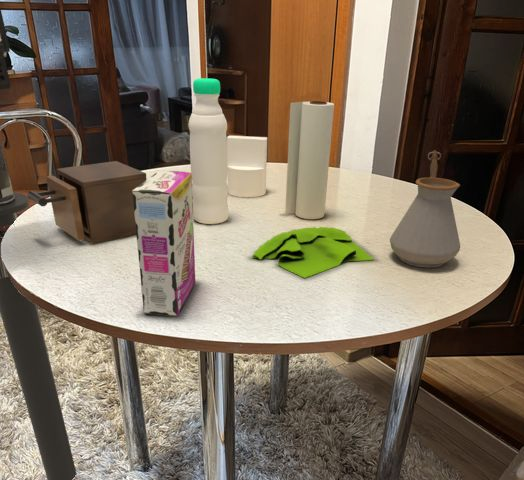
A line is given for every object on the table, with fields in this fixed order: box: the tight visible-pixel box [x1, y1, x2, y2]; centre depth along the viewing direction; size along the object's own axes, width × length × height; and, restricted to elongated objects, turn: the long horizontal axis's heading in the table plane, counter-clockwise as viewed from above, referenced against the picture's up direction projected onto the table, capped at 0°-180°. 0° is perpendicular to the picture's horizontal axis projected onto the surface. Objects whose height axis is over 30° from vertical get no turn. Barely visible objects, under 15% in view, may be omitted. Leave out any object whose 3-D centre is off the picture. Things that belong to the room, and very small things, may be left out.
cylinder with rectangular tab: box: [226, 135, 268, 198], centre depth 117 cm, size 9×9×12 cm
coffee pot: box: [389, 149, 461, 269], centre depth 87 cm, size 21×12×15 cm, turn 166°
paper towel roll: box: [284, 100, 335, 220], centre depth 101 cm, size 7×6×21 cm
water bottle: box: [187, 77, 229, 225], centre depth 96 cm, size 7×7×25 cm
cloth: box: [251, 226, 375, 279], centre depth 88 cm, size 20×22×2 cm
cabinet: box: [55, 160, 148, 245], centre depth 93 cm, size 12×12×11 cm
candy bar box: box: [132, 170, 196, 317], centre depth 68 cm, size 11×5×16 cm, turn 174°
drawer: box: [26, 175, 90, 242], centre depth 91 cm, size 15×10×9 cm
